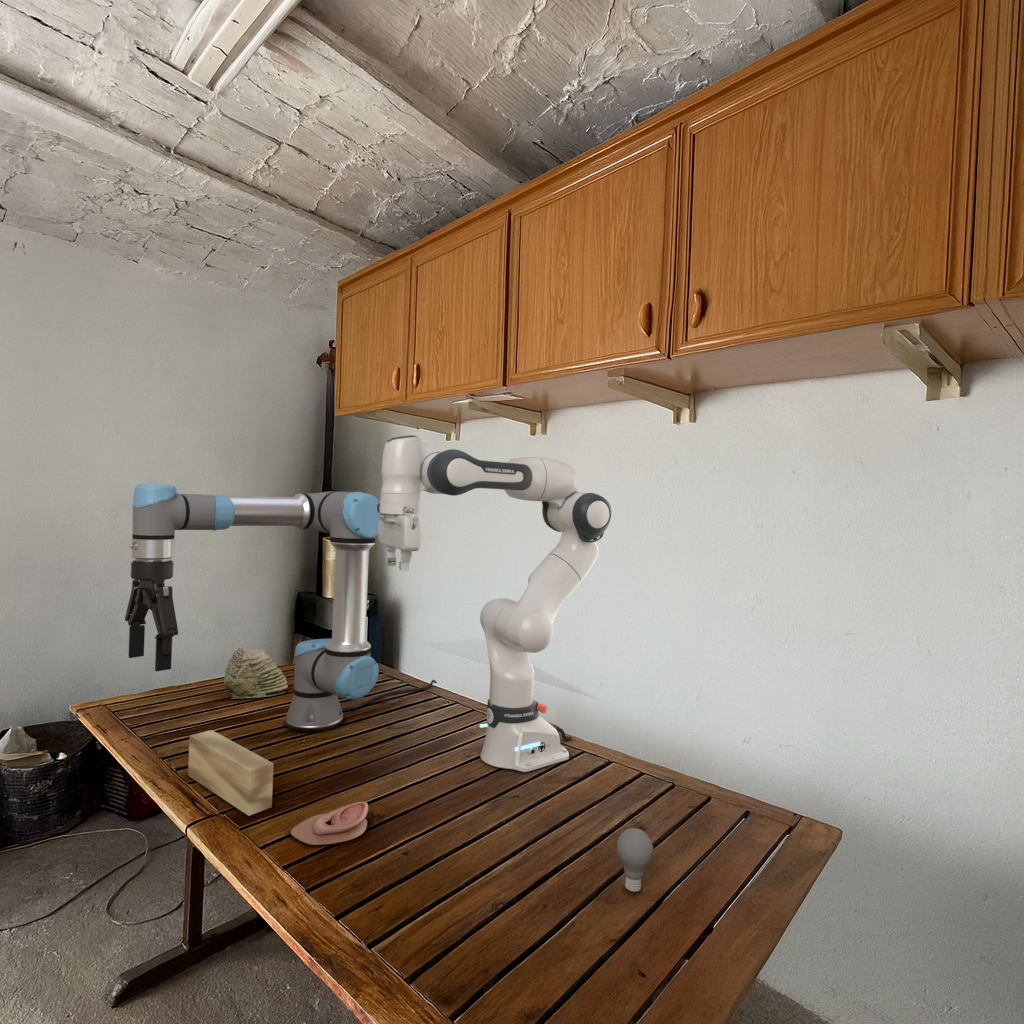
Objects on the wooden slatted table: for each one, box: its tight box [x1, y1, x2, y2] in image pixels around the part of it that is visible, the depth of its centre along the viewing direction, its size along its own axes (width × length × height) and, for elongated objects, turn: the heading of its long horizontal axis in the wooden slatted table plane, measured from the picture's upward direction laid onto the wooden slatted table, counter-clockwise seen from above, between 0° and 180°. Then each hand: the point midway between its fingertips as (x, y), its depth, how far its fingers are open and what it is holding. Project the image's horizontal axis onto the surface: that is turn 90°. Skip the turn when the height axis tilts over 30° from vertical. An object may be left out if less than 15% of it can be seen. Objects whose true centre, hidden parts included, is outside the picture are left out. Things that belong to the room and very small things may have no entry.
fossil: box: [223, 646, 289, 700], centre depth 198 cm, size 9×18×15 cm, turn 132°
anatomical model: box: [290, 801, 369, 846], centre depth 120 cm, size 13×4×12 cm
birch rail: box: [187, 729, 274, 817], centre depth 135 cm, size 5×26×9 cm, turn 51°
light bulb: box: [616, 827, 654, 893], centre depth 106 cm, size 6×6×10 cm
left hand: (149, 663), depth 129 cm, fingers open, 13 cm apart
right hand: (397, 567), depth 143 cm, fingers open, 8 cm apart
